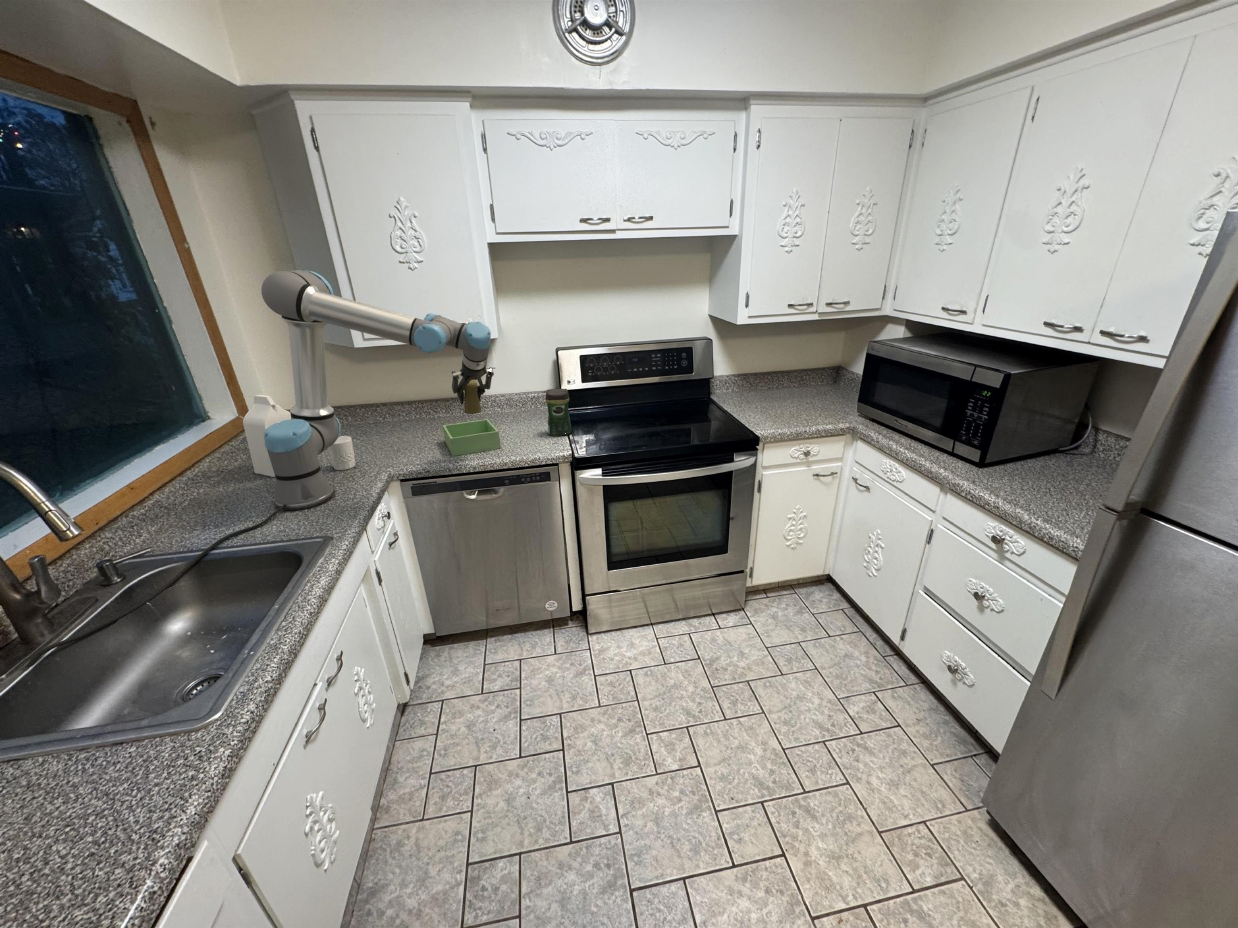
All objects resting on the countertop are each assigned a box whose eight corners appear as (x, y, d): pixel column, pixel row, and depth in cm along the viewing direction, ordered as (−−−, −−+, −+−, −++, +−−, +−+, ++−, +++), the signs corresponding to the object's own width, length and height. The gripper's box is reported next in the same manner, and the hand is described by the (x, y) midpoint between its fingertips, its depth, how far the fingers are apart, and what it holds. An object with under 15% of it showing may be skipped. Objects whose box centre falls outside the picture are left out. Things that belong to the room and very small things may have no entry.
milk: (254, 472, 171) (231, 398, 161) (286, 461, 181) (266, 390, 171) (279, 477, 167) (257, 401, 157) (310, 465, 177) (291, 393, 167)
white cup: (352, 460, 181) (346, 434, 177) (360, 466, 175) (354, 439, 172) (329, 466, 176) (322, 439, 172) (336, 473, 170) (329, 445, 167)
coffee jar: (571, 429, 211) (568, 386, 204) (571, 435, 204) (569, 391, 197) (547, 430, 210) (544, 387, 203) (547, 437, 203) (544, 392, 196)
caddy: (500, 448, 191) (498, 431, 189) (453, 456, 184) (450, 438, 181) (489, 434, 206) (487, 419, 203) (445, 441, 199) (442, 425, 196)
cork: (477, 414, 175) (473, 383, 171) (461, 413, 176) (457, 382, 172) (484, 409, 180) (481, 379, 176) (469, 408, 181) (465, 378, 177)
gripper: (447, 374, 155) (445, 412, 175) (505, 368, 163) (497, 405, 183) (442, 354, 157) (440, 393, 177) (499, 349, 165) (492, 387, 185)
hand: (469, 399), depth 180 cm, fingers closed on cork, 5 cm apart
